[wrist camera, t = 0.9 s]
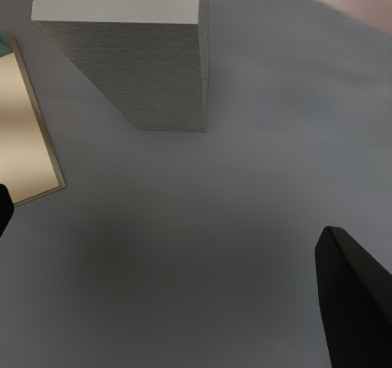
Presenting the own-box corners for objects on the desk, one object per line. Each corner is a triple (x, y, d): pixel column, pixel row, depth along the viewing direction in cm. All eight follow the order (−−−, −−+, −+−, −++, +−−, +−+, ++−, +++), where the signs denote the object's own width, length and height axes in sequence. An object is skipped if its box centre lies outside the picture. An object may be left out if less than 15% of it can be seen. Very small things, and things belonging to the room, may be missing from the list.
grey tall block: (205, 132, 22) (196, 10, 8) (137, 129, 22) (18, 7, 8) (209, 65, 22) (206, -160, 8) (142, 63, 22) (34, -158, 9)
